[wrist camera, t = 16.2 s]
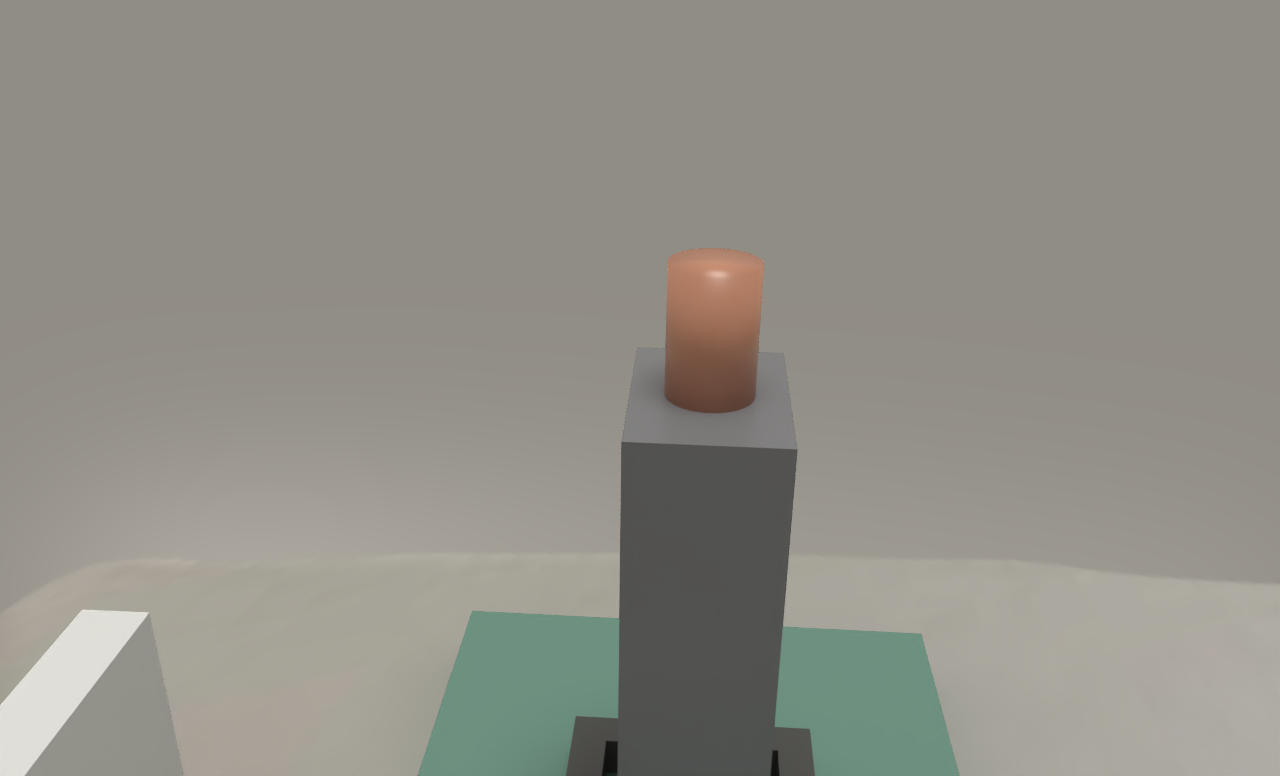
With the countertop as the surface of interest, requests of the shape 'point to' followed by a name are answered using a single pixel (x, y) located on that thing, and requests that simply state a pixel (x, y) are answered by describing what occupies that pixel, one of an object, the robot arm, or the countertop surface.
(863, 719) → the board
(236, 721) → the countertop surface
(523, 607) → the countertop surface
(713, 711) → the plug
